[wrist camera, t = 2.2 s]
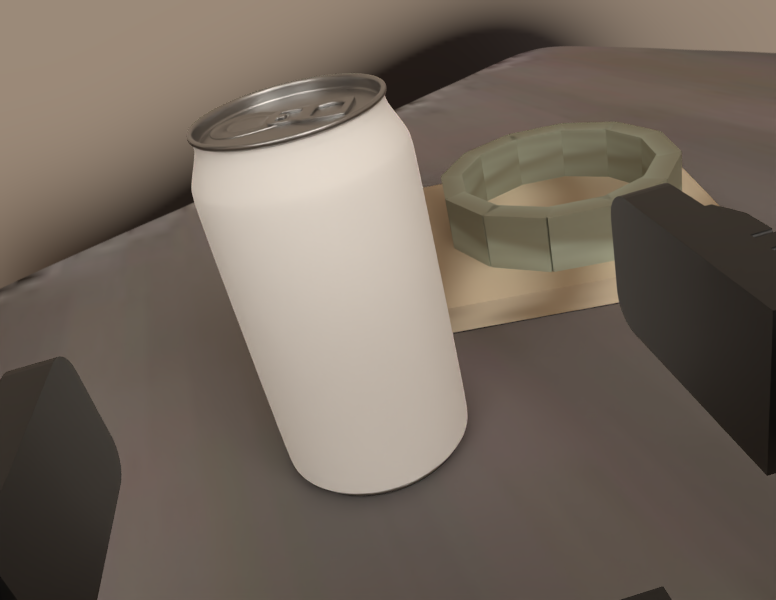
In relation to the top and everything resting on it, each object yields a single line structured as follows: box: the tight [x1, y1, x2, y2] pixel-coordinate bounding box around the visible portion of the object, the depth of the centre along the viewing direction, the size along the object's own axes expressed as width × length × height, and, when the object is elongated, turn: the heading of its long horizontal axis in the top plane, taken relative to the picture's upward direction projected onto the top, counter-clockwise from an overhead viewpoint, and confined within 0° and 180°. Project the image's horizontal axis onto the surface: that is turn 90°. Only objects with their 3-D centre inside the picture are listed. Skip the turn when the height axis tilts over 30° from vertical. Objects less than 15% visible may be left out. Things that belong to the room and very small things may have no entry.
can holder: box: [423, 122, 719, 333], centre depth 35 cm, size 13×13×4 cm
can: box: [186, 73, 467, 496], centre depth 23 cm, size 6×6×12 cm
